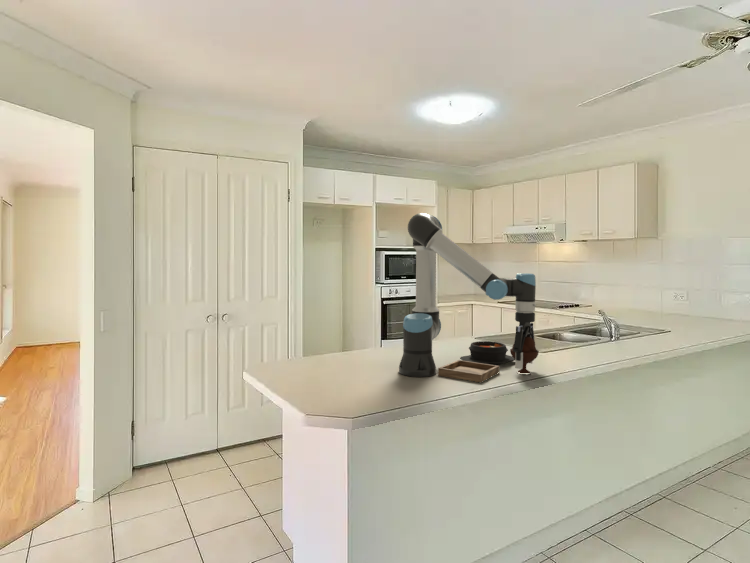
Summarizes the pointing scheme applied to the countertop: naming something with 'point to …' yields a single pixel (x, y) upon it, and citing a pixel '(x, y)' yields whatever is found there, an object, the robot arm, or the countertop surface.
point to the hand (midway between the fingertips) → (524, 365)
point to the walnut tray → (468, 370)
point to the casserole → (488, 353)
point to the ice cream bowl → (527, 353)
